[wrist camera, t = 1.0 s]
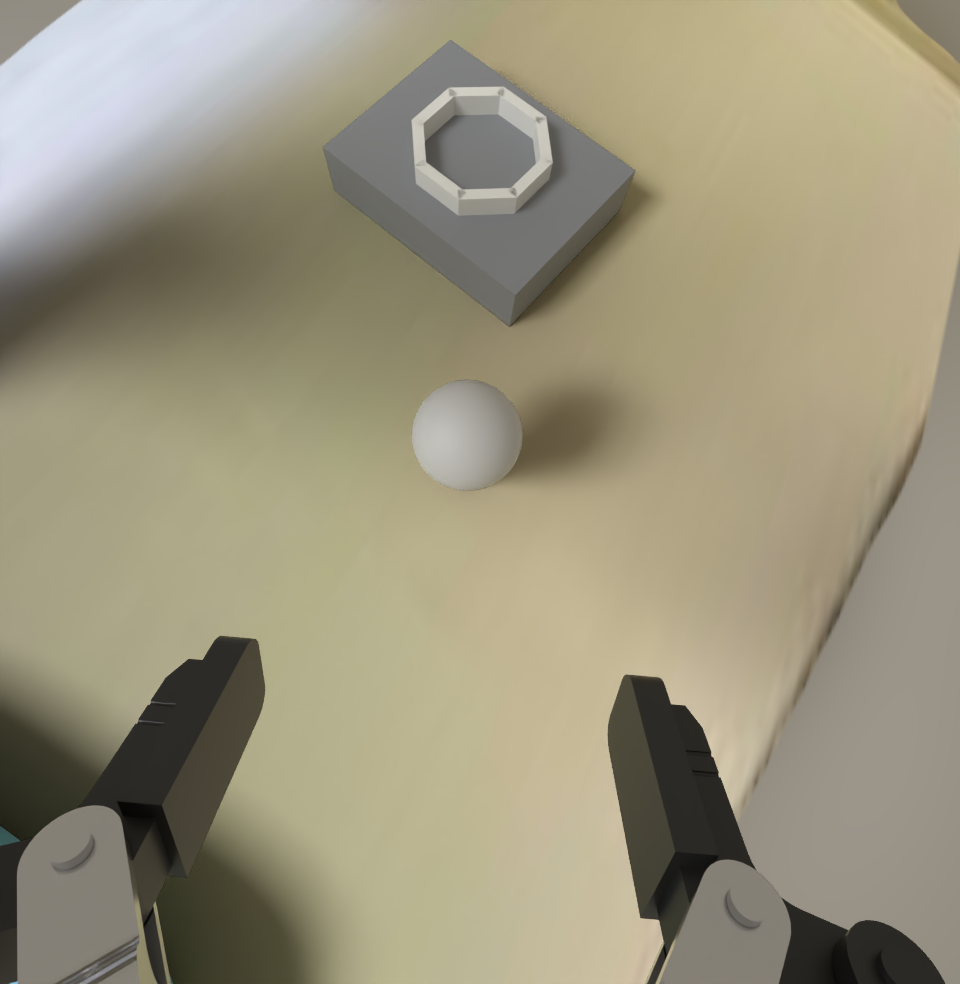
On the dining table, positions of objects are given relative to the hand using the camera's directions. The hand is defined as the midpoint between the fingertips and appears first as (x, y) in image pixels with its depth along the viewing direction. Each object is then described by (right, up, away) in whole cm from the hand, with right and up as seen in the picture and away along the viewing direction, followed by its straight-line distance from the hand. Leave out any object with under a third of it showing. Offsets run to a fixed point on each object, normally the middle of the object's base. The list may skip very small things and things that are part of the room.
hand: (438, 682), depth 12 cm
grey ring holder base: (+1, +27, +32) cm, 42 cm away
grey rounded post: (0, +5, +26) cm, 27 cm away
